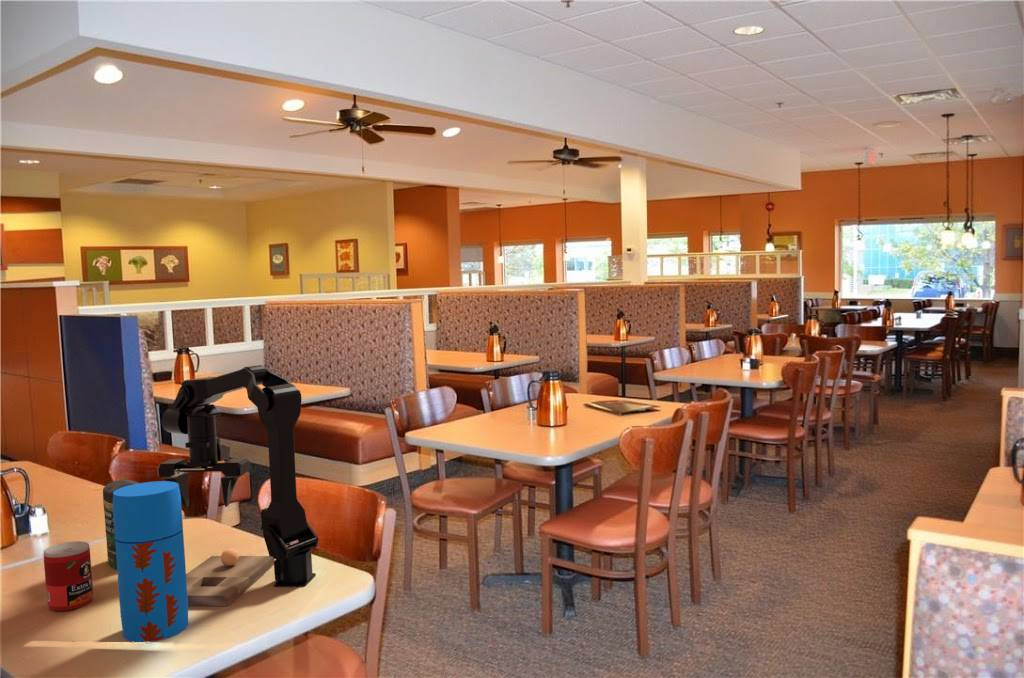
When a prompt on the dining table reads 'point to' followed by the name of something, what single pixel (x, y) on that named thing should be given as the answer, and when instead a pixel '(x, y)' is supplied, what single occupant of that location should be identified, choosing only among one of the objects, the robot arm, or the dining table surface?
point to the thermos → (150, 560)
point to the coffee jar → (109, 518)
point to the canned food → (68, 575)
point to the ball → (229, 557)
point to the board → (224, 579)
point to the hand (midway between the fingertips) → (206, 506)
